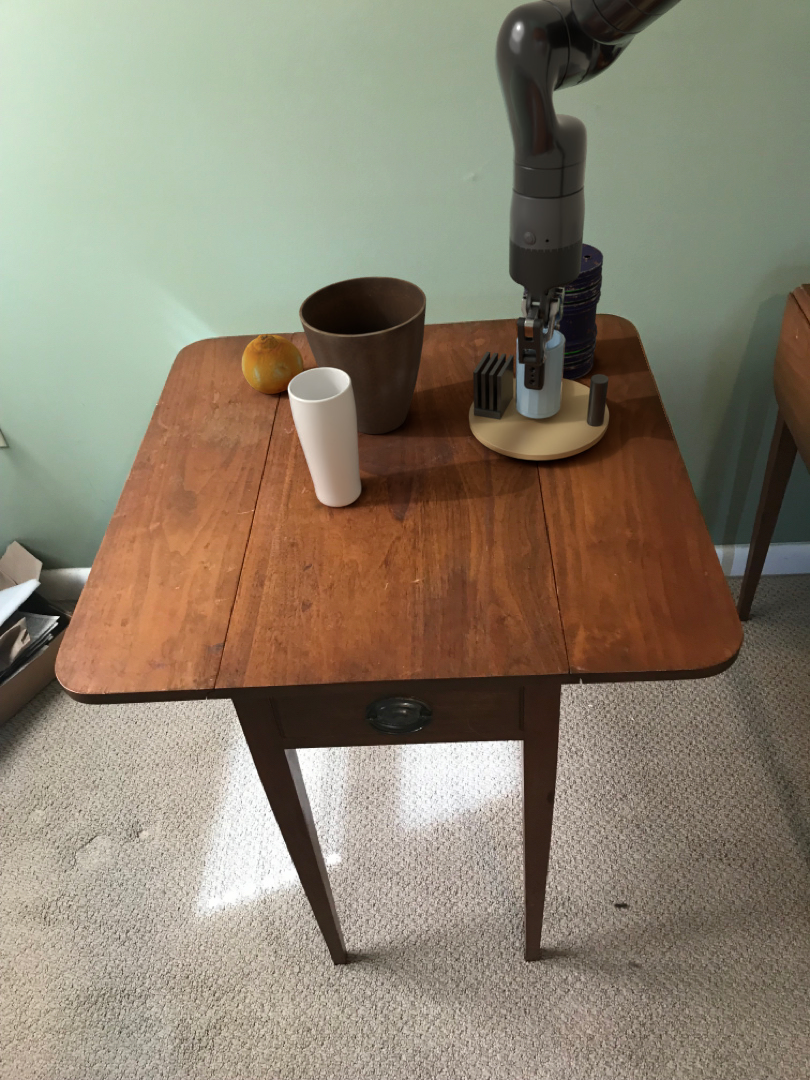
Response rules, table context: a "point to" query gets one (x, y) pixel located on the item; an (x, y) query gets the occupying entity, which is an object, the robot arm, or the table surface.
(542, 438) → the round wooden platform
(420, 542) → the table surface
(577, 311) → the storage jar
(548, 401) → the cup
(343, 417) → the drinking glass
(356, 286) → the flower pot
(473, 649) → the table surface
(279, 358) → the fruit
